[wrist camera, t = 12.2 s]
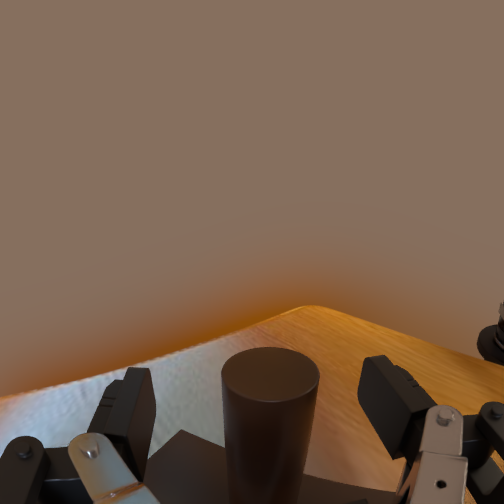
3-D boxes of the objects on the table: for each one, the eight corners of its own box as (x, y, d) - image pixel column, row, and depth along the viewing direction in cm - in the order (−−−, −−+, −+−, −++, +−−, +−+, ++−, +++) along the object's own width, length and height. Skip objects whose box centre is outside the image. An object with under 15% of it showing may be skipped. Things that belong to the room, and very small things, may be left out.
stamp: (188, 466, 16) (164, 302, 14) (385, 526, 11) (467, 359, 8) (136, 516, 12) (71, 348, 9) (359, 601, 7) (484, 472, 4)
